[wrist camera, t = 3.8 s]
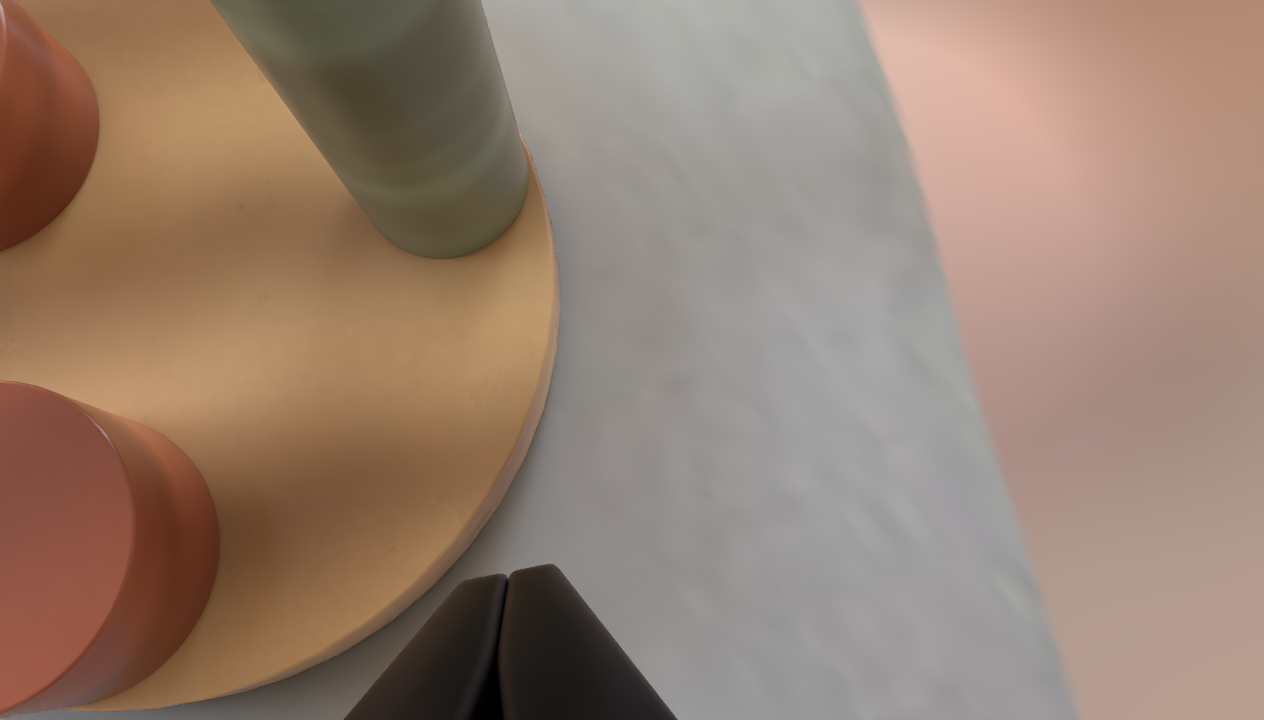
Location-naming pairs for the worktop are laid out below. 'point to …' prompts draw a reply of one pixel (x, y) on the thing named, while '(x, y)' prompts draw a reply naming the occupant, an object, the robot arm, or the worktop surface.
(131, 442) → the wooden disc stand
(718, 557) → the worktop surface
